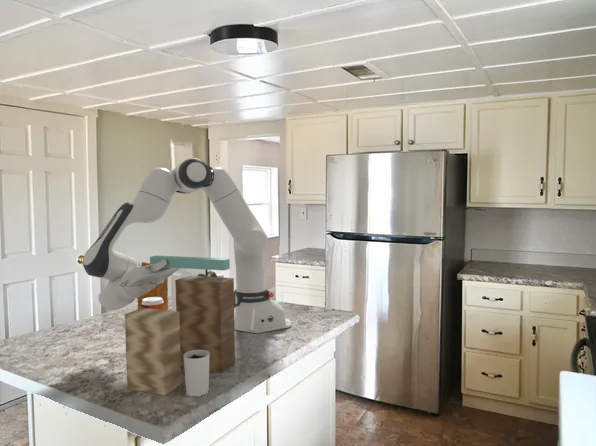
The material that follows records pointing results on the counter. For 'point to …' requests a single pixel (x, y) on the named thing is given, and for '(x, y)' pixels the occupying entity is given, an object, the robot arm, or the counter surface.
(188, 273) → the milk
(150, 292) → the coffee package
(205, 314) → the post
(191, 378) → the white coffee cup
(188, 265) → the rail
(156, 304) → the paper cup
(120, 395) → the counter surface
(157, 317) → the zigzag patterned block
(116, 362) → the counter surface
